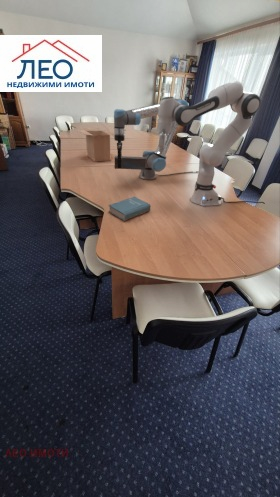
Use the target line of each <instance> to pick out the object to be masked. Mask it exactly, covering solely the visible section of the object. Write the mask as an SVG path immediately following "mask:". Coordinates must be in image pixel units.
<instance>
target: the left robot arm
mask: <svg viewBox="0 0 280 497" xmlns="http://www.w3.org/2000/svg"><path fill="white" fill-rule="evenodd" d="M175 100H177V101H178V102H179V103H181V104H183V105H185V106H190V104H189V102H188V100H185V99H182V98H175ZM159 105H160V102H158V103H156V104H150V105H145V106H140V107H136V108H132V109H128V110H125V109H119V108H117V109H114V110H113V132H114V134H115V135H113V136H114V138H113V139H114V141H116V149H117V156H118V158H117V160H118V168H121V156H123V155H122V151H123V150H122V149H123V142H125V140H126V139H125V138H126V136H125V134H126V131H127V130H126V128H125V127H126V126H139V125H140V124H141V121H142V119H146V118H147V119H148V118H152V117H156V116H159V115H158V113H159ZM178 126H179V125H178V124H177V123H176V122H172V128H171V132H170V133H169V135H168V136H167V140H166V143H165V146H164V150H163V153H162V154H159V153H160V148H159V147H158V146H157V147H156V149H155V150H144V151H143V152H142V157H146V167H145V170H140V172H139V178H140V179H142V180H146V181H154V180H156V178H157V177H166V176H173V175H180V174H186V173H187V174H190V173H192V171H184V172H176V173H170V174H157V172H158V173H161V172H162V171H163V170H164V169H165V168H166V167H167V161H165V160H167V152H168V151H169V148H170V145H171V143H172V140H173V138H174V136H175V133H176V131H177V129H178ZM198 172H199V170H198V171H197V173H198Z"/></svg>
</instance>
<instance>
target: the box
mask: <svg viewBox="0 0 280 497" xmlns="http://www.w3.org/2000/svg"><path fill="white" fill-rule="evenodd" d="M77 131H78V132H79V133H81V134H82V135H85V144H86V156H87V157H88V158H90V160H92V161H93V162H95V163H97V162H108V161H111V136H114V135H115V134H114V131H112V130H109V129H103V130H101V129H100V128H83V129H77Z"/></svg>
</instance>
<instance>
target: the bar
mask: <svg viewBox="0 0 280 497" xmlns="http://www.w3.org/2000/svg"><path fill="white" fill-rule="evenodd" d="M117 158H118V155H115V156H114V170H139V171H141V170H145V167H146V157H143V156H126V155H124V156H123V155H122V156H121V168H118V160H117Z"/></svg>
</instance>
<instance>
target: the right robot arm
mask: <svg viewBox="0 0 280 497" xmlns="http://www.w3.org/2000/svg"><path fill="white" fill-rule="evenodd" d="M175 99H176V98H175V97H174V96H165V97H162V98H161V99H160V101H159V103H160V105H159V113H158V115H157V116H158V120H157V123H156V124H157V125H156V132H158V135H159V136H158V145H157V147H159V148H160V153H159V154H162V153H163V150H164V146H165V143H166V140H167V136H168V135H169V133H170V132H171V128H172V122H176V123H177V124H178V126H179V127H187V126H189V125H190V124H191V123H193V121H194V120H196V119H197V118H199V117H201V116H204V115H206V114H208V113H210V112H213V111H217V110H220V109H223V108H225V107H226V108H227V107H228V106H229V107H230V109H231V110H232V111H233V112H234V113H236V114H235V116H234V118H233V120H232V121H231V122H230V123H229V124H228V125H227V126H226V127H225V128H224V129H223V130H222V131H221V132H220V133H219V135H218V137H217V139H216V141H215V142H214V143H213V144H211V143H206V144H203V145H201V147H200V149H199V160H198V162H199V163H198V171H199V172H198V171H197V178H196V181H195V184H194V189H193V193H192V195H191V197H190V201H191V203H194V204H196V205H199V206H201V207H211V206H220V205H221V201H222V202H223V203H227V204H236V203H254V204H263V205H266V202H264V201H252V200H251V201H250V200H240V201H239V200H238V201H225V198H224V197H222V195H221V194H218V192H217V191H216V190H215V189H216V188H217V186H216V184H214V183H213V181H214V177H215V167H219V166H220V165H221V164H222V163H223V161H224V158H225V156H226V155H227V153H228V152H229V150H230V149H231V148H232V146H234V145H235V143H236V142H237V141H238V140H239V139H240V138H242V137H243V136H244V134H245V133H246V132H247V131H248V129H250V127H251V126H252V124H253V118H254V117H255V115H256V114H257V112H258V110H259V109H260V107H261V104H262V100H261V99H262V98H260V96H259V95H258V94H257V93H252V92H247V91H244V86H243V84H242V82H240V81H237V80H236V81H231V82H227V83H224V84H222V85H220V86H217V87H215V88H213V89H212V90H211V91H210V92H209V93H208V96H207V98H205V100H202V101H200V102H198V103H196V104H194V105H189V106H185V105H183V104H181V103H179V102H178V101H177V100H175Z"/></svg>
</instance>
